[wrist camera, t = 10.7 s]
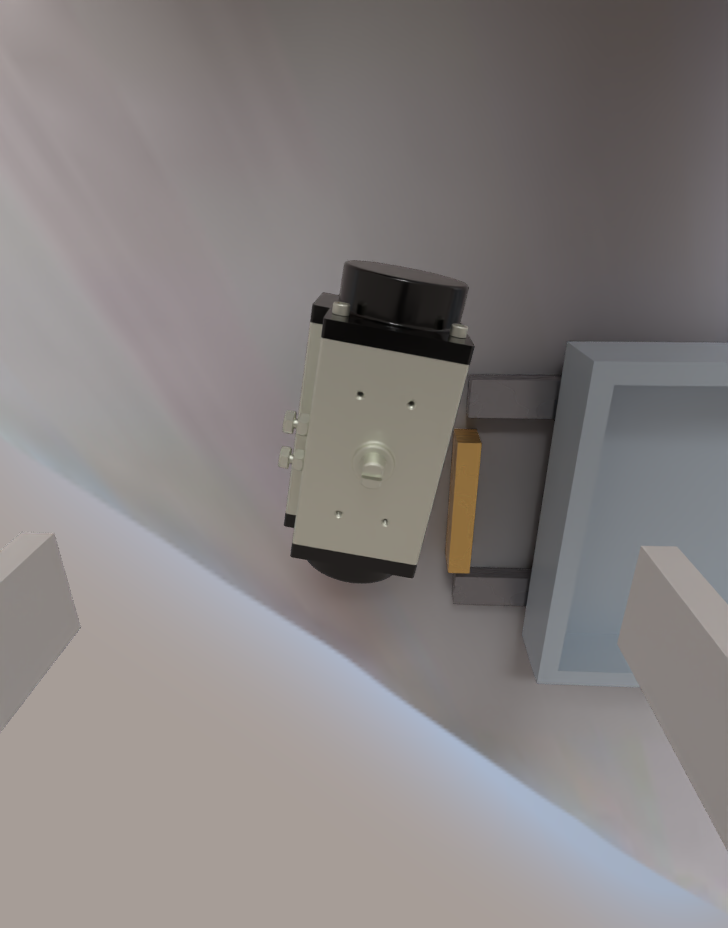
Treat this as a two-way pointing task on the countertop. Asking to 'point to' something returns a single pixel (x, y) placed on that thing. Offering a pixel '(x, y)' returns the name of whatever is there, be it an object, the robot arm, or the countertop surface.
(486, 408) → the rails
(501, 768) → the countertop surface
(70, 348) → the countertop surface
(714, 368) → the shallow square tray
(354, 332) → the pneumatic valve
